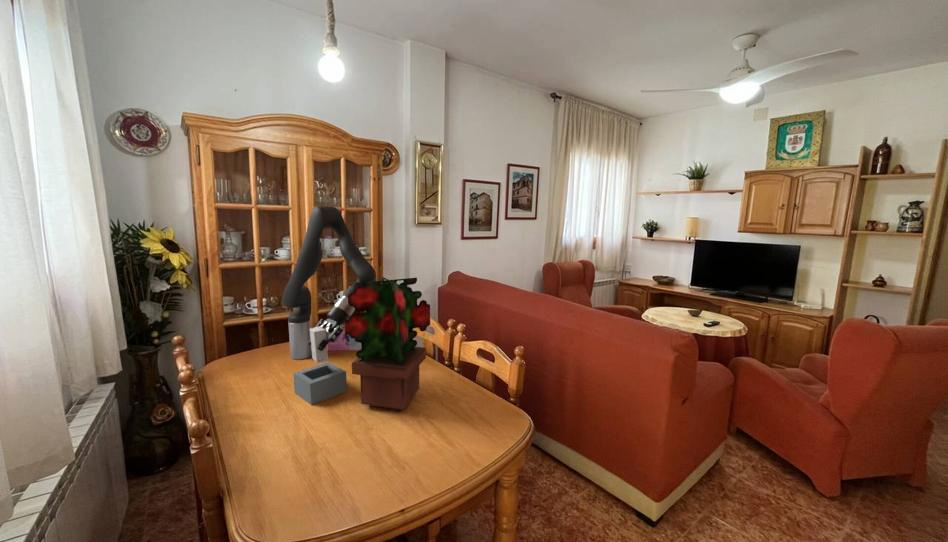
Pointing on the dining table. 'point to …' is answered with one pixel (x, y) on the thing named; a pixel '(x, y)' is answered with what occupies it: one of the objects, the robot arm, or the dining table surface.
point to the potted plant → (387, 341)
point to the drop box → (320, 382)
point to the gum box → (344, 342)
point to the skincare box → (316, 338)
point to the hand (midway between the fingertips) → (314, 347)
